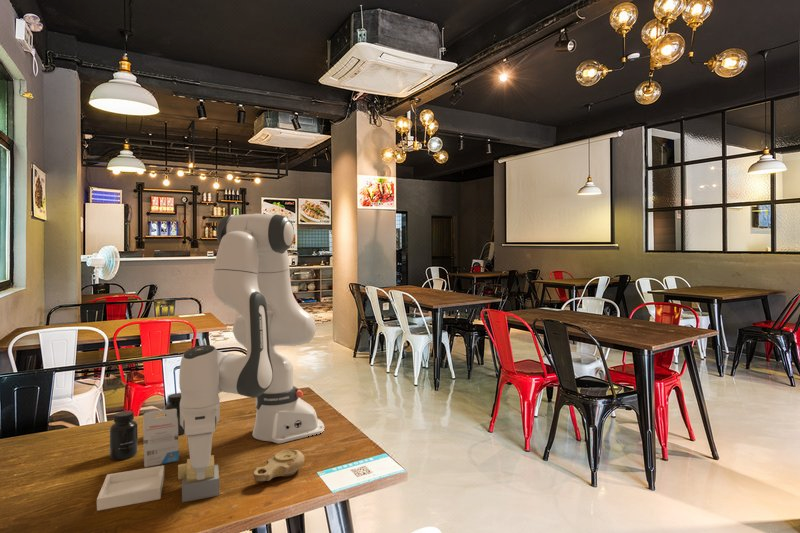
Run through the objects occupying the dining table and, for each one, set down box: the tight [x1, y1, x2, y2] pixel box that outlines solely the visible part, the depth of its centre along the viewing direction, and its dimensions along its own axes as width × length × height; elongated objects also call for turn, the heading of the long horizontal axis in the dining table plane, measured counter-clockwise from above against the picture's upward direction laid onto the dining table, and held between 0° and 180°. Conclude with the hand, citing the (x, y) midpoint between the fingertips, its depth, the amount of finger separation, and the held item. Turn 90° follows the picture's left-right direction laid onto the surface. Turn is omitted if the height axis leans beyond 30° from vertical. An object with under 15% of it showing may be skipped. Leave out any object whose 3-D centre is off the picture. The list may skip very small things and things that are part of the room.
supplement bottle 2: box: [164, 392, 185, 436], centre depth 148 cm, size 7×7×12 cm
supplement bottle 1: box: [109, 410, 139, 461], centre depth 131 cm, size 7×7×12 cm
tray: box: [96, 464, 165, 511], centre depth 111 cm, size 13×13×3 cm
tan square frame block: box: [177, 454, 215, 482], centre depth 111 cm, size 8×6×3 cm
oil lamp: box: [252, 448, 305, 482], centre depth 119 cm, size 11×14×5 cm
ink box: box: [142, 409, 180, 468], centre depth 128 cm, size 9×5×15 cm, turn 117°
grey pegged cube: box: [181, 464, 220, 503], centre depth 112 cm, size 8×8×8 cm
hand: (200, 471), depth 112 cm, fingers closed on tan square frame block, 6 cm apart
